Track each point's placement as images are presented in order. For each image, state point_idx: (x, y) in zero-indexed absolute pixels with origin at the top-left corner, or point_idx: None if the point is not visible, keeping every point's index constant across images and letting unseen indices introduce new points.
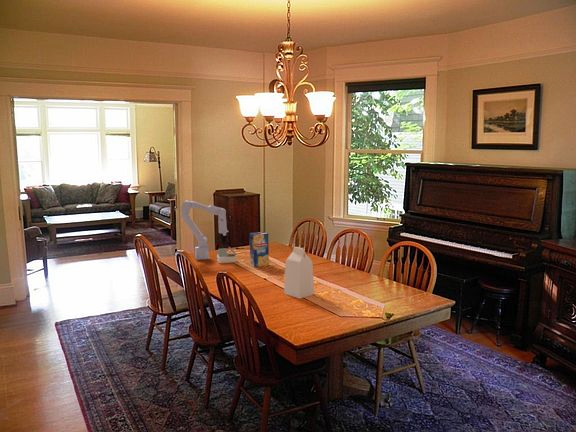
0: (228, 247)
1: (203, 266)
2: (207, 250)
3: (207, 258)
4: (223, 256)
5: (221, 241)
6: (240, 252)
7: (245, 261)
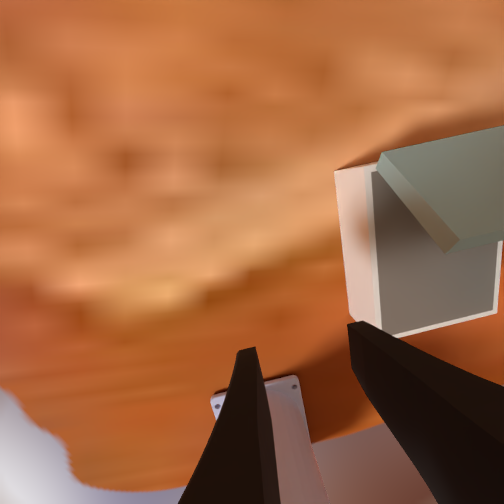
0: (476, 245)
1: (489, 379)
2: (297, 458)
3: (300, 391)
4: (467, 276)
5: (271, 427)
6: (16, 89)
7: (461, 40)
